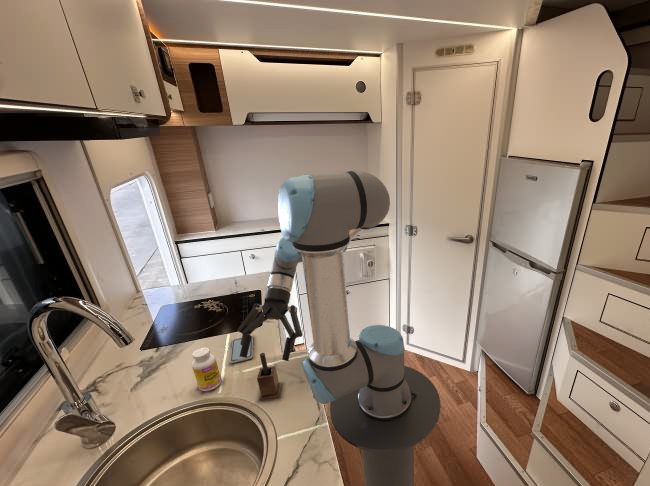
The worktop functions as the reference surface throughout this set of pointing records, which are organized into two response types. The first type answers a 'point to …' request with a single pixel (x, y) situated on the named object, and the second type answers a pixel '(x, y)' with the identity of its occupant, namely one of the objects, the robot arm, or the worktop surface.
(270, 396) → the pen holder
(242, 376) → the worktop surface
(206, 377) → the supplement bottle
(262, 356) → the stylus
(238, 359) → the smartphone
